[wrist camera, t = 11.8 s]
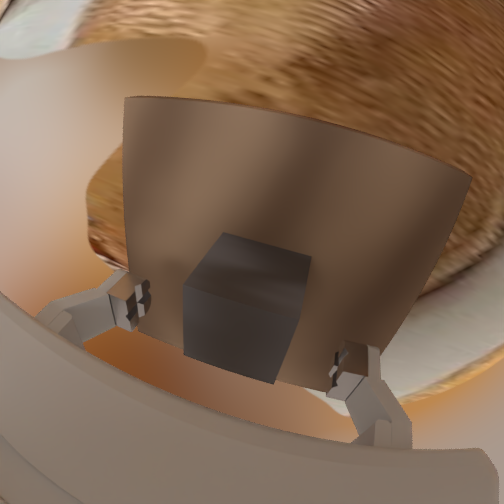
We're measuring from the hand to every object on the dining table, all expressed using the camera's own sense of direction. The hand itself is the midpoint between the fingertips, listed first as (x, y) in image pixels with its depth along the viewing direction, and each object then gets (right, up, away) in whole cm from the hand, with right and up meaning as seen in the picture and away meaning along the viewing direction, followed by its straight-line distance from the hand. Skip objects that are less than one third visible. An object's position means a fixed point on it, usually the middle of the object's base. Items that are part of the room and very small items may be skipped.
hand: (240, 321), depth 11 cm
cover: (+1, +2, +3) cm, 4 cm away
